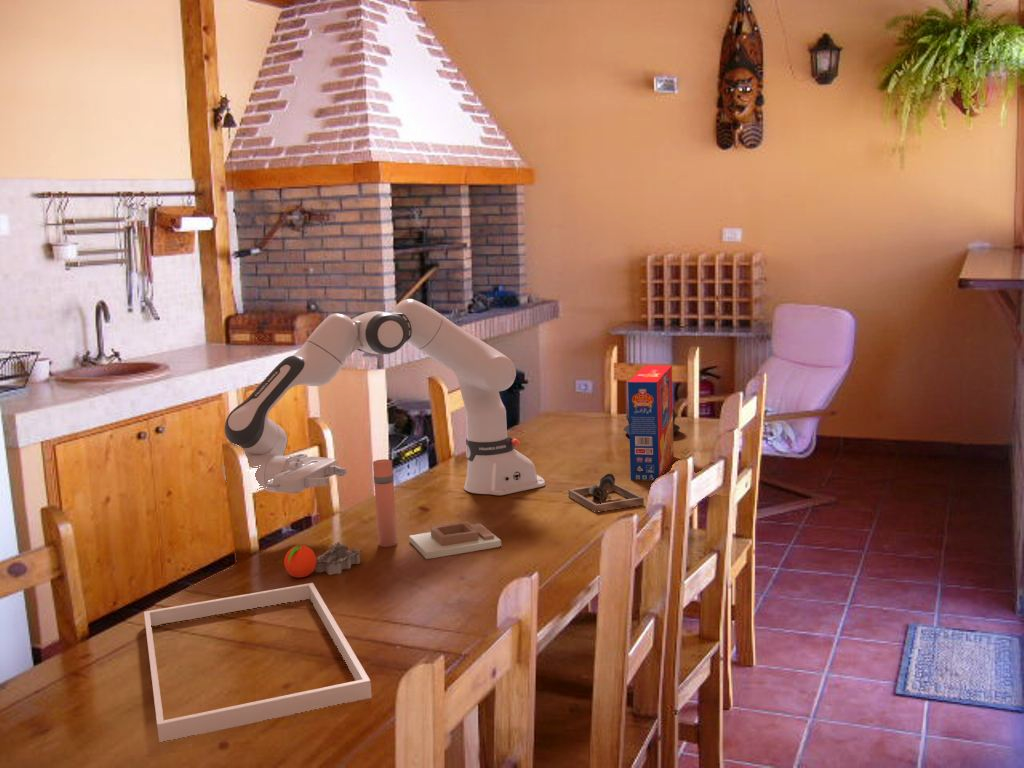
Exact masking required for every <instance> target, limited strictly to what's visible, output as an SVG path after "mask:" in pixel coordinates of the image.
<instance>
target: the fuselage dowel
mask: <svg viewBox="0 0 1024 768" xmlns="http://www.w3.org/2000/svg"><path fill="white" fill-rule="evenodd" d="M372 467H373V468H372V469H373V484H374V497H375V510H376V524H377V525H376V526H377V537H378V538H377V539H378V546H379V547H382V548H390V547H394V546H397V545H398V531H397V517H396V503H395V501H396V500H395V487H394V486H395V485H394V473H393V460H391V459H387V458H386V459H383V458H382V459H377V460H374V461H373V462H372Z"/></svg>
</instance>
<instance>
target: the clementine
mask: <svg viewBox="0 0 1024 768" xmlns="http://www.w3.org/2000/svg"><path fill="white" fill-rule="evenodd" d="M316 558H317V556H316V554H315V551H314V550H313V549H312V548H310V547H308V546H306V545H301V544H299V545H295V546H293V547H291V548H290V549H289V550H288V551H287V552H286V554H285V556H284V560H283V561H284V562H283V565H284V568H285V570H286V572H287V573H288V575H290V576H292V577H295V578H299V579H301V578H305V577H308V576H309V575H311V574H312V573H313V572H314V570H315V566H316V561H317V560H316Z"/></svg>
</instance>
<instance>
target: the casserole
mask: <svg viewBox="0 0 1024 768" xmlns="http://www.w3.org/2000/svg"><path fill="white" fill-rule="evenodd" d="M677 417H678V414H677V413H676V412H675V408H673V433H677V432H678V431H679V430H680V429H681V427H680V426H679V425H678V424H677V423H675V421H676V418H677ZM625 418H626V419H627V421H628V425H625V426H624V427H623V431H624V432H626V433H627V434H628V436H629V409H628V411H627V414H626V415H625Z"/></svg>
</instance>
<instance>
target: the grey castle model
mask: <svg viewBox="0 0 1024 768" xmlns="http://www.w3.org/2000/svg"><path fill="white" fill-rule="evenodd" d="M362 551H363V550H361V549H360V548H357V550H356V549H355V548H354V547H353V548H351V550H349V548H348V546H347V545H345V544H342V543H341V542H340V541H338V542H337V543H334V544H333V545H331V546H330V547H329V550H326V551H325V552H324V553H323V554H321V555H318V557H317V556H316V560H317V561H316V566H315V569H314V570H315V573H317V572H320V573H323V572H324V571H325V572H326V573H327V575H330V576H332V575H337V574H342V570H349V569H351V567H352V565H354V564H355V565H359V564H361V558H360V553H359V552H362Z"/></svg>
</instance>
